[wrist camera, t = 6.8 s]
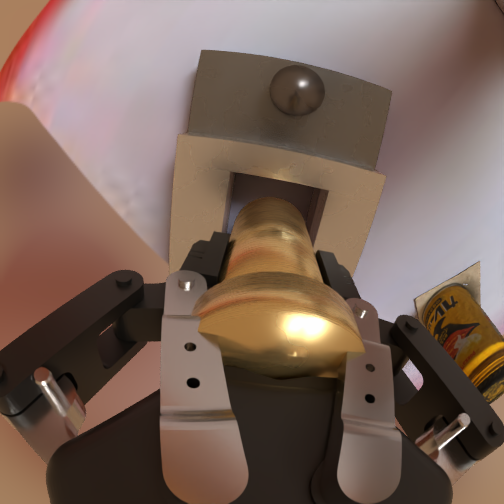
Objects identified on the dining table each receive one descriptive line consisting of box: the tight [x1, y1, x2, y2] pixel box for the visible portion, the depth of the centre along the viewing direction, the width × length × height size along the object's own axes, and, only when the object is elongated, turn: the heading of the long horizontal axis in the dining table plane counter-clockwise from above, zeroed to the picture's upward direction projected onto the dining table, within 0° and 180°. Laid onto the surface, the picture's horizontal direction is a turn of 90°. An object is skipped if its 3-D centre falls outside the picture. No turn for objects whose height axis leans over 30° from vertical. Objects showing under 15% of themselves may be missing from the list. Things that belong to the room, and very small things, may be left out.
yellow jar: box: [415, 261, 504, 404], centre depth 18 cm, size 7×8×12 cm
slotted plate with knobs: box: [169, 50, 392, 277], centre depth 17 cm, size 12×20×6 cm, turn 170°
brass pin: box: [191, 197, 366, 380], centre depth 11 cm, size 5×5×10 cm
